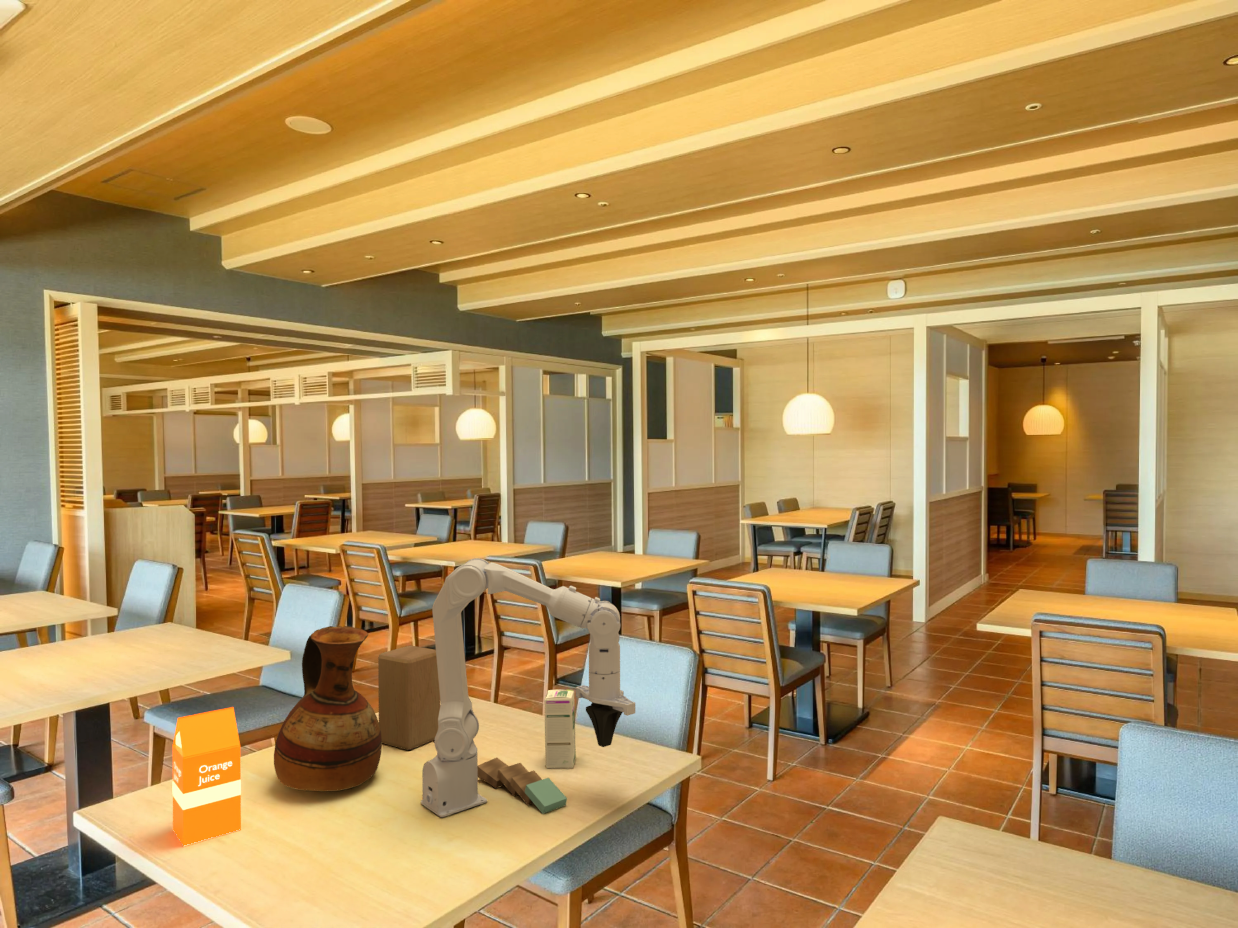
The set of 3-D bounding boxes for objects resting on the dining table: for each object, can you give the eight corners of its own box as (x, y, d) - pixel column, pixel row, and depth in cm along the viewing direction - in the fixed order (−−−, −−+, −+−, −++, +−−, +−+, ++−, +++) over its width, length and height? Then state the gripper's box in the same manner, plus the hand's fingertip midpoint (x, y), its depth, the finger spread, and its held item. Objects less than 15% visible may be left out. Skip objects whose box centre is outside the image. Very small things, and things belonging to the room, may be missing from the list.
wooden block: (442, 737, 175) (441, 649, 175) (408, 752, 166) (408, 658, 166) (411, 730, 180) (410, 643, 180) (376, 743, 171) (376, 653, 171)
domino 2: (515, 788, 144) (498, 769, 148) (513, 796, 144) (497, 776, 148) (537, 781, 147) (520, 762, 151) (535, 788, 147) (518, 769, 152)
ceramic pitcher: (311, 813, 137) (310, 644, 137) (252, 785, 149) (252, 630, 149) (402, 777, 153) (402, 625, 153) (343, 754, 165) (342, 614, 165)
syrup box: (573, 768, 157) (573, 697, 157) (544, 768, 157) (544, 697, 157) (575, 758, 162) (575, 688, 162) (547, 757, 163) (547, 688, 162)
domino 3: (529, 797, 140) (511, 777, 144) (527, 805, 140) (510, 784, 145) (551, 789, 143) (534, 770, 147) (550, 797, 144) (532, 777, 148)
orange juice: (241, 829, 131) (240, 711, 131) (183, 847, 125) (182, 723, 125) (228, 814, 137) (227, 701, 137) (172, 830, 131) (171, 712, 131)
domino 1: (496, 780, 147) (477, 765, 151) (495, 788, 147) (476, 773, 151) (516, 771, 151) (496, 757, 155) (515, 779, 151) (495, 764, 155)
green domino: (544, 806, 136) (526, 784, 141) (542, 813, 137) (524, 792, 141) (567, 797, 140) (548, 777, 144) (565, 805, 140) (546, 784, 144)
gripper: (647, 674, 138) (648, 750, 138) (595, 659, 149) (596, 729, 149) (618, 681, 134) (618, 760, 134) (566, 665, 145) (567, 738, 145)
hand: (604, 744), depth 141 cm, fingers closed
